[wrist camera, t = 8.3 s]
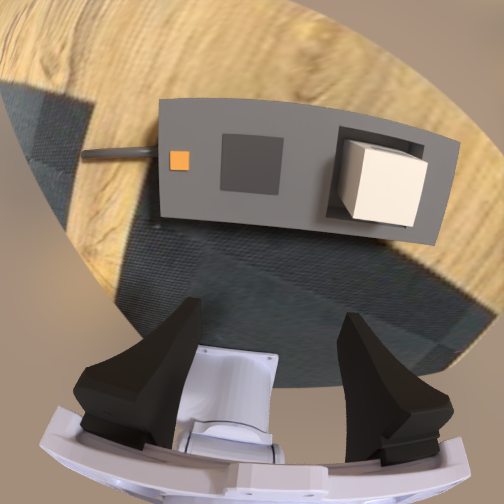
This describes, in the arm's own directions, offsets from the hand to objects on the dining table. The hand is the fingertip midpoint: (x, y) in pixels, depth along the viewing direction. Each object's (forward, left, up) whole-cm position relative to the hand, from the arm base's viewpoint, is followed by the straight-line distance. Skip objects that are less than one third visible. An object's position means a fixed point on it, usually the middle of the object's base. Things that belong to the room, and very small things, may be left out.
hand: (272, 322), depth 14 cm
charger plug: (+6, +6, -9) cm, 13 cm away
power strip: (-2, +6, -10) cm, 12 cm away
